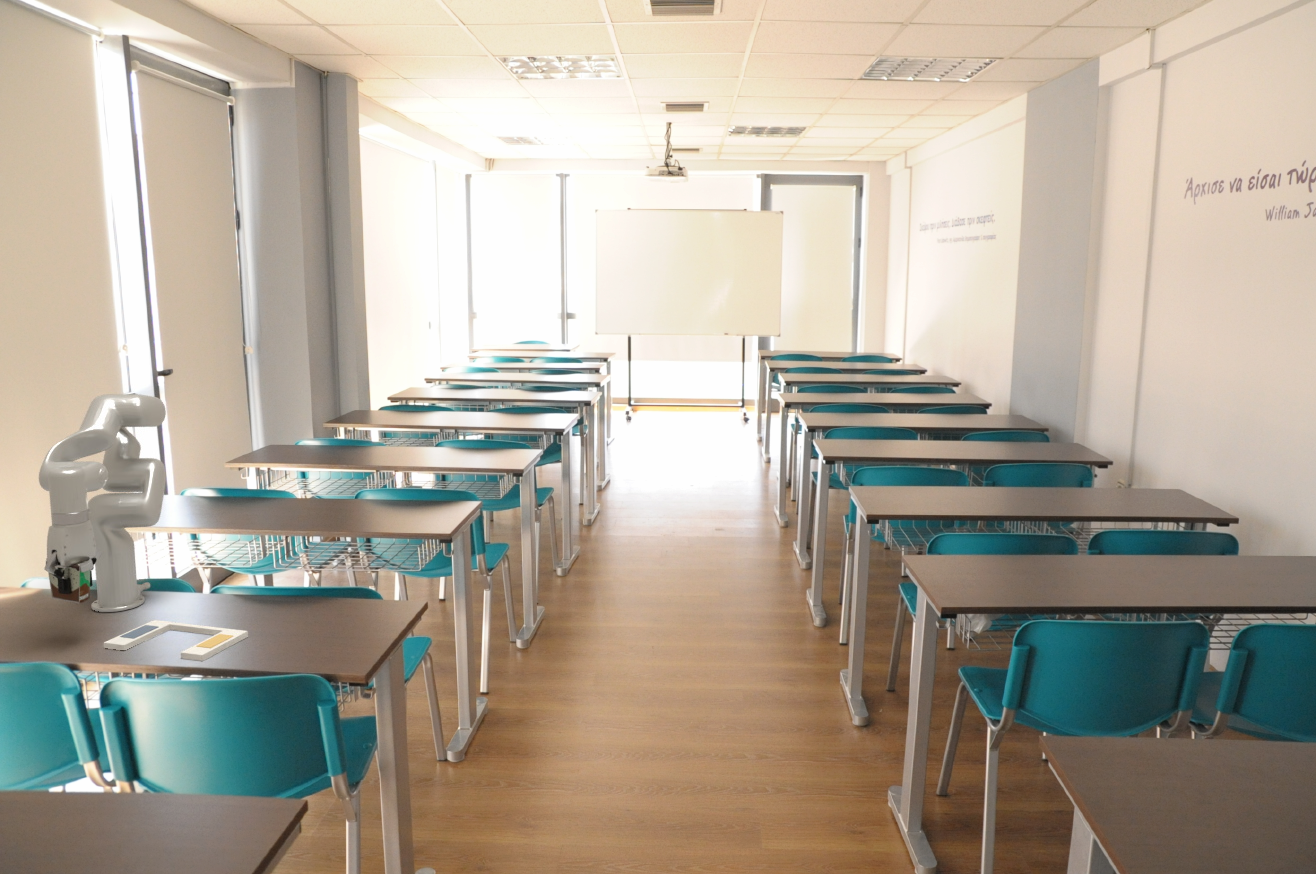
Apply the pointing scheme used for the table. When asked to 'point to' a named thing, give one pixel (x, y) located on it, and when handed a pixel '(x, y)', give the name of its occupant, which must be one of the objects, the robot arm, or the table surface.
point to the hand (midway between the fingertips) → (75, 589)
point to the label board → (197, 652)
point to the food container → (74, 583)
